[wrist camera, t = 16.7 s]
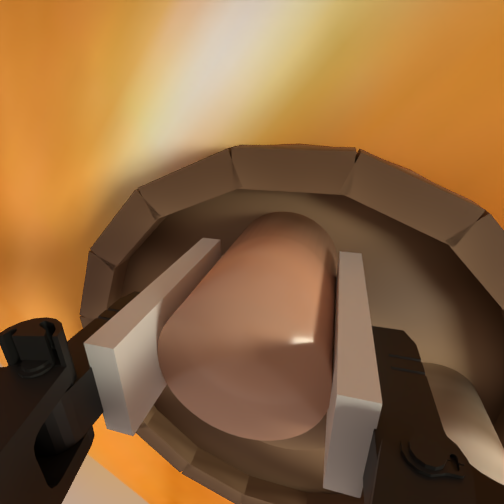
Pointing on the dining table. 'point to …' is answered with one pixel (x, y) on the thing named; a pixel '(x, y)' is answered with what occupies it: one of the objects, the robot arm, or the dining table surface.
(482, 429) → the cream bead
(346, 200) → the groove tray
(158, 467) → the dining table surface
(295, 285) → the pinkish brown egg
